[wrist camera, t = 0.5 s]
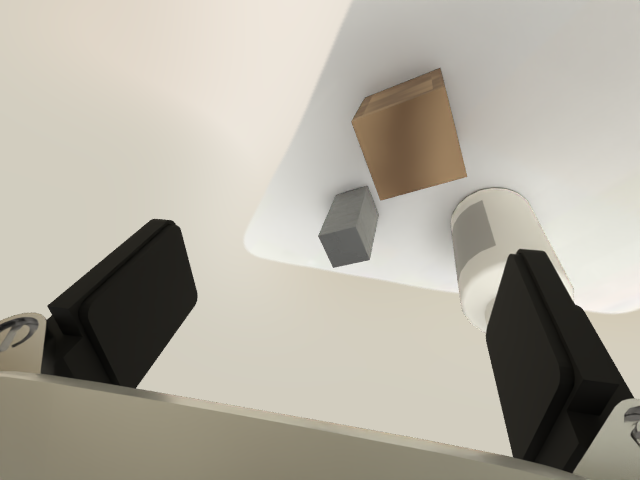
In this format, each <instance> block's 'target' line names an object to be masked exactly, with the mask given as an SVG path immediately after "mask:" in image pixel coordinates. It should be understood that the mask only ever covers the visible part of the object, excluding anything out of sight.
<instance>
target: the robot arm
mask: <svg viewBox="0 0 640 480" xmlns="http://www.w3.org/2000/svg"><path fill="white" fill-rule="evenodd" d="M196 302H197V290H196V286H195V283H194V279H193V275H192V271H191V267H190V264H189V260H188V256H187V252H186V248H185V244H184V240H183V237H182V233H181V230H180V227H178V226H177V225H176V224H175V223H174V222H173V221H171V220H162V219H152V220H150V221H149V222H148V223H147V224H145V225H144V226H143V227H142V228H141V229H139V230H138V231H137V232H136V233H135V234H133V235H132V236H131V237H130V238H129V239H127V240H126V241H125V242H124V243H123V244H121V245H120V246H119V247H118V248H116V249H115V250H114V251H113V252H112V253H110V254H109V255H108V256H107V257H106V258H105V259H103V260H102V261H101V262H100V263H98V264H97V265H96V266H95V267H94V268H92V269H91V270H90V271H89V272H88V273H86V274H85V275H84V276H83V277H82V278H80V279H79V280H78V281H77V282H75V283H74V284H73V285H72V286H71V287H70V288H68V289H67V290H66V291H65V292H63V293H62V294H61V295H60V296H59V297H57V298H56V299H55V300H54V301H53V302H51V303H50V304H49V305H48V308H49V310H50V312H51V313H52V316H51V317H50V318H49V319H47V320H46V318H45V317H44V316H43V315H41V314H38V313H22V314H18V315H14V316H11V317H8V318H6V319H3V320H1V321H0V480H640V399H635V398H634V397H633V395H632V393H631V392H630V390H629V388H628V386H627V385H626V383H625V382H624V379H623V378H622V376H621V374H620V372H619V371H618V369H617V367H616V366H615V364H614V362H613V360H612V359H611V357H610V355H609V353H608V352H607V350H606V348H605V346H604V345H603V343H602V341H601V340H600V338H599V336H598V334H597V333H596V331H595V329H594V327H593V326H592V324H591V322H590V320H589V319H588V317H587V315H586V314H585V312H584V311H583V309H582V308H581V307H579V306H577V305H575V304H574V302H573V300H572V298H571V296H570V295H569V293H568V291H567V289H566V287H565V286H564V284H563V282H562V280H561V279H560V277H559V275H558V273H557V271H556V270H555V268H554V266H553V264H552V262H551V261H550V259H549V257H548V255H547V253H546V252H545V251H541V250H529V249H519V250H518V251H517V252H516V254H509V256H508V258H507V261H506V265H505V268H504V271H503V275H502V278H501V282H500V285H499V288H498V292H497V295H496V298H495V302H494V305H493V309H492V312H491V315H490V319H489V322H488V325H487V329H486V342H487V347H488V351H489V355H490V360H491V364H492V368H493V372H494V376H495V381H496V385H497V390H498V394H499V398H500V402H501V406H502V411H503V415H504V420H505V424H506V428H507V433H508V437H509V441H510V445H511V449H512V454H513V457H509V456H504V455H499V454H495V453H489V452H484V451H479V450H474V449H469V448H464V447H459V446H454V445H449V444H444V443H439V442H434V441H429V440H424V439H418V438H413V437H407V436H401V435H396V434H391V433H384V432H379V431H374V430H368V429H363V428H357V427H352V426H346V425H341V424H335V423H330V422H324V421H319V420H313V419H308V418H302V417H296V416H291V415H285V414H279V413H274V412H268V411H262V410H256V409H251V408H245V407H240V406H234V405H228V404H222V403H217V402H211V401H205V400H199V399H194V398H188V397H182V396H176V395H170V394H164V393H158V392H153V391H146V390H141V389H136V387H137V385H138V384H139V383H140V382H141V380H142V379H143V377H144V376H145V375H146V373H147V372H148V370H149V369H150V368H151V366H152V365H153V363H154V362H155V360H156V359H157V358H158V356H159V355H160V354H161V352H162V351H163V349H164V348H165V347H166V345H167V344H168V342H169V341H170V339H171V338H172V337H173V335H174V334H175V333H176V331H177V330H178V328H179V327H180V326H181V324H182V323H183V321H184V320H185V319H186V317H187V316H188V314H189V313H190V312H191V310H192V309H193V307H194V306H195V304H196Z"/></svg>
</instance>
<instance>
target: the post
mask: <svg viewBox="0 0 640 480" xmlns="http://www.w3.org/2000/svg"><path fill="white" fill-rule="evenodd" d="M378 216H379V215H378V212H377V209H376V207H375V204H374V201H373V199H372V196H371V194H370V191H369V188H368V186H365V187H362V188H358V189H355V190H352V191H348V192H345V193H341V194H338V195H336V196H335V199H334V201H333V203H332V206H331V208H330V210H329V213H328V215H327V217H326V219H325V222H324V224H323V226H322V229H321V231H320V233H319V235H318V237H319V239H320V241H321V243H322V245H323V247H324V249H325V251H326V253H327V255H328V258H329V260H330V262H331V264H332V266H333V268H334V267H339V266H344V265H348V264H353V263H358V262H362V261H367V260H370V256H371V251H372V246H373V241H374V236H375V231H376V226H377V221H378Z"/></svg>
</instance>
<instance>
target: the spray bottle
mask: <svg viewBox="0 0 640 480" xmlns="http://www.w3.org/2000/svg"><path fill="white" fill-rule="evenodd" d="M451 233H452V240H453V248H454V256H455V264H456V272H457V280H458V287H459V295H460V301H461V306H462V311H463V313H464V315H465V316H466V317H467V319H468V320H469V322H470V323H471V324H472V325H474V326H475V327H476V328H477V329H479V330H480V331H482V332H484V333H486V329H487V325H488V322H489V319H490V315H491V312H492V309H493V305H494V302H495V298H496V295H497V292H498V288H499V285H500V282H501V278H502V275H503V271H504V268H505V265H506V261H507V258H508V256H509V254H516V252H517V251H518V250H519V249H529V250H541V251H545V252H546V253H547V255H548V257H549V259H550V261H551V262H552V264H553V266H554V268H555V270H556V271H557V273H558V275H559V277H560V279H561V280H562V282H563V284H564V286H565V287H566V289H567V291H568V293H569V295H570V296H571V298H572V300H573V302H574V288H573V286H572V284H571V282H570V280H569V278H568V277H567V275H566V273H565V271H564V269H563V267H562V265H561V263H560V261H559V259H558V257H557V256H556V254H555V252H554V250H553V248H552V246H551V244H550V242H549V240H548V238H547V236H546V235H545V233H544V231H543V229H542V227H541V225H540V223H539V221H538V219H537V217H536V216H535V214H534V212H533V210H532V208H531V206H530V204H529V202H528V201H527V200H526V199H525V198H524V197H522V196H521V195H520V194H519V193H516V192H513V191H511V190H508V189H500V188H490V189H485V190H480V191H478V192H476V193H474V194H471V195H469V196H468V197H467V198H465V199H464V200H463V201H462V202H461V203H460V204H459V205H458V206H457V208H456V209H455V211H454V213H453V215H452V220H451Z"/></svg>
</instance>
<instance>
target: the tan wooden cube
mask: <svg viewBox="0 0 640 480" xmlns="http://www.w3.org/2000/svg"><path fill="white" fill-rule="evenodd" d="M351 122H352V125H353V128H354V130H355V133H356V136H357V138H358V141H359V144H360V147H361V149H362V152H363V155H364V157H365V160H366V163H367V165H368V168H369V171H370V174H371V176H372V179H373V182H374V184H375V187H376V190H377V192H378V195H379V198H380V201H381V200H384V199H388V198H392V197H395V196H399V195H403V194H406V193H410V192H413V191H417V190H421V189H424V188H428V187H432V186H435V185H439V184H443V183H446V182H450V181H453V180H457V179H461V178H464V177H467V174H466V170H465V166H464V162H463V157H462V153H461V149H460V145H459V141H458V137H457V133H456V129H455V125H454V121H453V117H452V113H451V109H450V105H449V101H448V97H447V93H446V88H445V85H444V81H443V77H442V73H441V70H440V68H439V69H436V70H434V71H431V72H429V73H426V74H424V75H421V76H419V77H416V78H414V79H411V80H409V81H406V82H404V83H401V84H399V85H396V86H393V87H391V88H388V89H386V90H383V91H381V92H378V93H376V94H373V95H371V96H368V97H366V98H365V99H364V100H363V102H362V104H361V106H360V107H359V109H358V111H357V113H356V114H355V116H354V118H353V120H352V121H351Z"/></svg>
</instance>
